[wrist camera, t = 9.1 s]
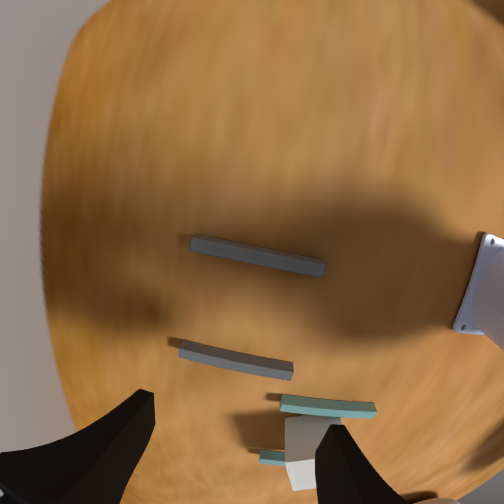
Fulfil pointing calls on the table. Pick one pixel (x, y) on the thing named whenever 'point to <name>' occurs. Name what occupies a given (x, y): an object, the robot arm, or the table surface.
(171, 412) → the table surface
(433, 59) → the table surface
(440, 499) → the serving bowl
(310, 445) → the grey cube
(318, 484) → the robot arm
